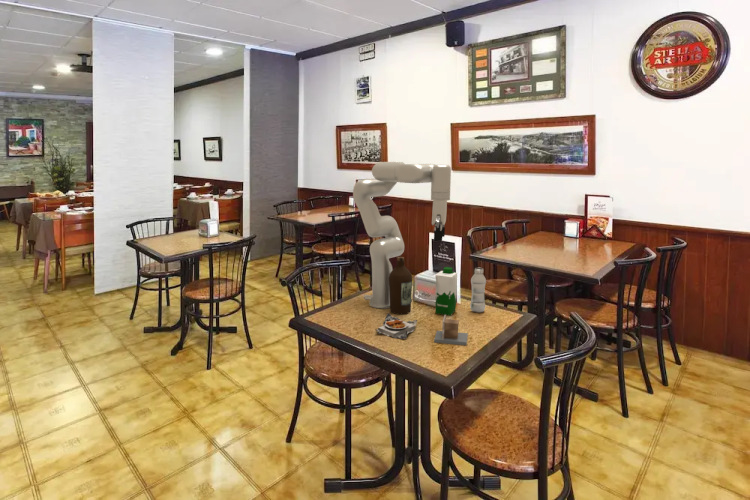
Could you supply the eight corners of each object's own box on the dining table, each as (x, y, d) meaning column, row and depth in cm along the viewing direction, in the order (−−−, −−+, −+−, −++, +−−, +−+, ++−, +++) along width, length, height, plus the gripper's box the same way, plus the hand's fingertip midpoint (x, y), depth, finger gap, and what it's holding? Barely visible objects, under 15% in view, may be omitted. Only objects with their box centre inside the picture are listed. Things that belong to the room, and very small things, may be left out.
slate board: (434, 342, 168) (434, 339, 168) (436, 333, 177) (436, 330, 177) (466, 345, 165) (466, 342, 165) (467, 336, 174) (467, 333, 174)
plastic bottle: (486, 314, 198) (488, 270, 194) (471, 314, 198) (472, 270, 194) (483, 309, 204) (485, 266, 200) (468, 309, 204) (470, 266, 200)
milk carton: (457, 310, 203) (459, 268, 199) (451, 316, 195) (452, 272, 191) (439, 307, 207) (440, 265, 203) (432, 313, 199) (433, 270, 195)
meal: (406, 329, 170) (374, 325, 175) (406, 339, 171) (375, 335, 176) (417, 316, 184) (388, 313, 188) (417, 326, 184) (388, 322, 189)
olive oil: (383, 311, 203) (383, 257, 198) (399, 305, 210) (400, 253, 205) (401, 316, 195) (401, 261, 190) (416, 311, 203) (417, 257, 197)
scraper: (442, 339, 168) (442, 321, 166) (444, 331, 175) (444, 314, 174) (457, 340, 167) (457, 323, 165) (458, 332, 174) (459, 315, 173)
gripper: (433, 194, 186) (432, 234, 189) (428, 198, 170) (427, 242, 173) (451, 194, 184) (450, 235, 188) (448, 198, 168) (446, 243, 171)
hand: (439, 238), depth 180 cm, fingers open, 9 cm apart
